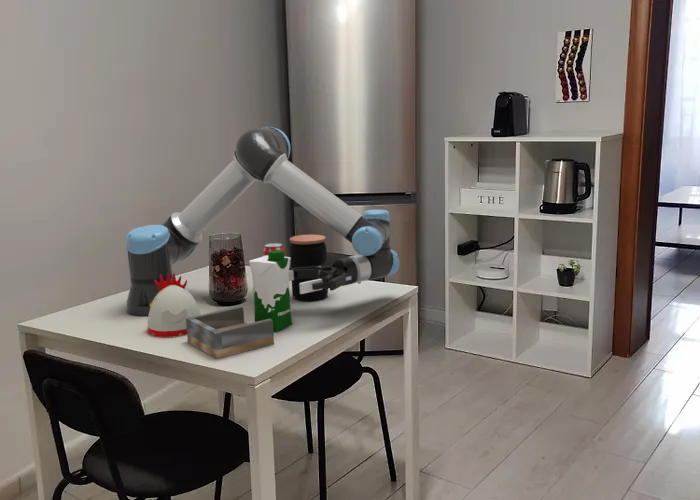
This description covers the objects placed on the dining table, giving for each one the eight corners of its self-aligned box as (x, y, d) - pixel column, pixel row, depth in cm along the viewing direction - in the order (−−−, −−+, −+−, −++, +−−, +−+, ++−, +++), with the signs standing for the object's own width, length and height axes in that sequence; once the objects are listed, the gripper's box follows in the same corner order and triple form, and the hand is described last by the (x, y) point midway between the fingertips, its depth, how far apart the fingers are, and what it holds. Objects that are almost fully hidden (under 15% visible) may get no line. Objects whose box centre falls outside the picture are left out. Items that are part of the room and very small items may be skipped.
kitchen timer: (148, 324, 185) (143, 269, 182) (200, 318, 189) (196, 264, 186) (148, 340, 172) (142, 281, 169) (204, 333, 175) (200, 276, 172)
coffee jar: (327, 301, 201) (324, 240, 197) (290, 302, 201) (287, 241, 197) (329, 291, 211) (326, 234, 208) (294, 292, 212) (291, 234, 208)
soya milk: (277, 333, 173) (273, 255, 169) (249, 328, 178) (244, 252, 174) (297, 323, 181) (293, 248, 177) (269, 319, 185) (265, 246, 181)
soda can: (290, 279, 228) (288, 244, 225) (274, 284, 223) (272, 247, 220) (276, 276, 232) (274, 241, 230) (260, 281, 227) (258, 245, 225)
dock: (187, 341, 170) (185, 318, 168) (241, 328, 178) (240, 306, 177) (217, 358, 157) (215, 333, 156) (274, 343, 166) (272, 319, 165)
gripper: (379, 291, 183) (313, 307, 170) (325, 275, 202) (262, 288, 190) (379, 264, 181) (312, 278, 169) (324, 250, 201) (260, 262, 188)
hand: (285, 283), depth 179 cm, fingers open, 13 cm apart
